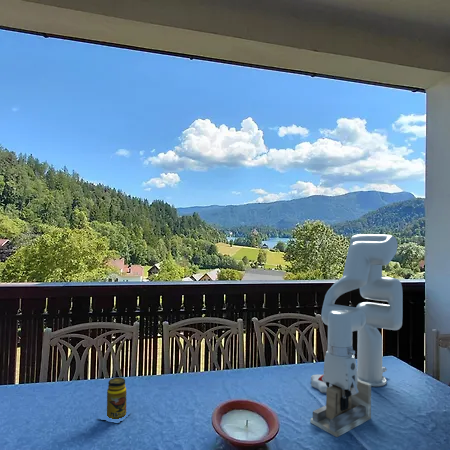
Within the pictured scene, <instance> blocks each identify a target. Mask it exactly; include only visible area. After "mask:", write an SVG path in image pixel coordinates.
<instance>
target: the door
mask: <svg viewBox="0 0 450 450" xmlns="http://www.w3.org/2000/svg"><path fill="white" fill-rule="evenodd" d="M350 390H352V388H351V386H350ZM325 395H326V398H325V400H326V401H325V402H326V403H325V405H326V417H328V418H330V419H332V418H334V417H336V416H338V415H340V414H343V413H345V412H347V411H349V410H351V396H350V397H349V404H348V409H346V410H344V411H341V409H340V404H341V398H342V389H341V388H340V387H338V386H336V385H333V386H331V387H328V388H327V391H326V393H325Z"/></svg>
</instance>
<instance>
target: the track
mask: <svg viewBox="0 0 450 450" xmlns="http://www.w3.org/2000/svg"><path fill="white" fill-rule="evenodd" d="M357 380H358V383H357V389H358V391H359V393H357V394H354V395H351V410H349V411H347V412H345V413H343V414H340V415H338V416H336V417H334V418H332V419H330V418H328V417H326V404H325V405H323V406H321V407H319V408H317V409H314V410H313V411H312V417H311V418H310V420H309V421H310V424H312V425H314V426H316V427H318V428H320V430H322V431H325V432H326V433H328V434H331V435H332V436H334V437H336V438H338V437H340V436H342V435H344V434H345V433H347V432H349V431H351V430H353V429H355V428H357V427H358V426H360V425H362V424H364V423H365V422H368V421H369V420H371V419H372V386H371V384H369V383H367V382H364V381H361V380H359V379H357Z"/></svg>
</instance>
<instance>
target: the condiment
mask: <svg viewBox="0 0 450 450" xmlns="http://www.w3.org/2000/svg"><path fill="white" fill-rule="evenodd" d="M107 383H108V385H107V387H108V388H107V390H106V411H107V416H108V417H109V418H112V419H119V418H122V417H124V416H125V415H126V412H127V387H126V380H125V378H123V377H119V376H118V377H113V378H111V379H110V380H109V381H108V382H107Z"/></svg>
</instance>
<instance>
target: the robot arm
mask: <svg viewBox="0 0 450 450" xmlns="http://www.w3.org/2000/svg"><path fill="white" fill-rule="evenodd" d="M349 244H350V245H349V246H348V249H347V253H346V259H345V264H344V269H343V272H342V273H343V274H342V277H341V278H339V279H338V280H337V281H335V282H334V283H333V284H332V285H331V287H330V288H329V289H328V290H327V291H326V293H325V295H324V300H323V303H322V308H321V314H320V315H321V321H322V323H324V325H326V326H327V351H326V352H325V357H324V362H323V374H324V375H323V377H322V380H323V381H324V382H325V384H326V385H327V387H331V386H333V385H336V386H338V387H340V388H341V389H342V398H341V404H340V409H341V411H344V410H346V409H348V404H349V397H350V396H351V395H354V394H357V393H359V391H358V389H357V383H358V380H357V379H359V380H361V381H364V382H367V383H369V384H371V387H377V388H378V387H383V386H385V385H386V384H387V378H386V377H385V376H383V373H385V372H387V370H388V369H387V368H386V366H383V344H384V343H383V336H382V334H381V332H380V331H379V329H383V330H389V331H391V330H392V331H398V330H400V329H401V328H402V326H403V311H404V310H403V302H404V301H403V295H404V294H403V292H404V291H403V286H402V282H401V281H400V280H399V279H397V278H396V277H386V276H383V266H386V265H389V264H390V262H391V261H393V258H394V257H395V256H396V253H397V251H398V240H397V238H396V237H395V236H394V235H392V234H373V233H367V234H366V233H365V234H363V233H362V234H355V235H352V236H351V237H350V240H349ZM357 289H359V294H360V296H361V297H362V298H363V299H367V300H373V301H379V302H380V301H381V302H387V303H388V304H385V303H379V302H370V301H363V302H359V303H358V304H357V305H356V307H355V306H347V305H341V304H335V303H336V300H337V299H339V298H340V296H342V295H344V294H345V293H348V292H351V291H354V290H357ZM353 332H357V349H356V350H357V351H356V350H354V348H353ZM356 352H357V353H356ZM355 354H356V355H357V356H356V357H355ZM356 359H357V362H356ZM350 386H351V388H352V390H350Z"/></svg>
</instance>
